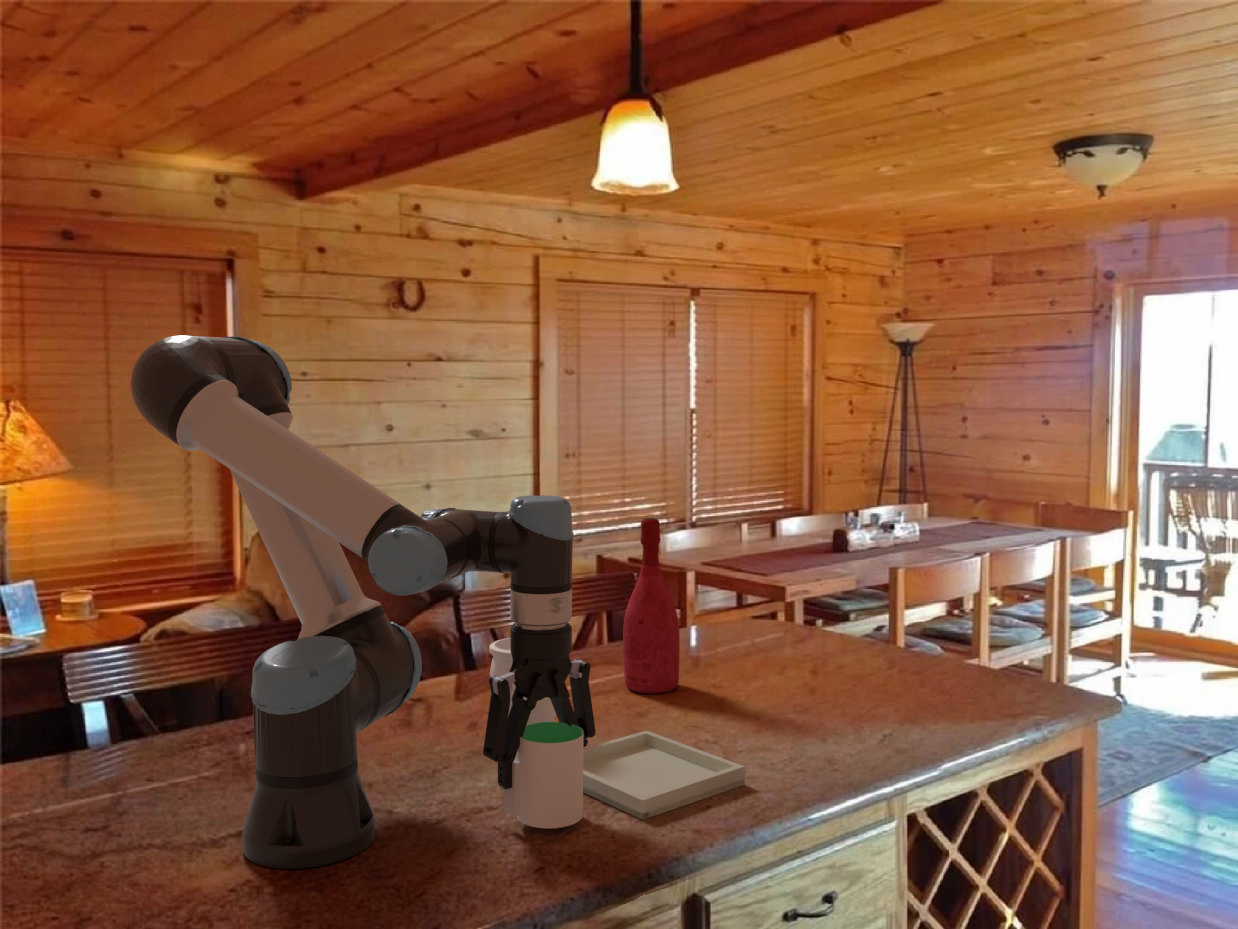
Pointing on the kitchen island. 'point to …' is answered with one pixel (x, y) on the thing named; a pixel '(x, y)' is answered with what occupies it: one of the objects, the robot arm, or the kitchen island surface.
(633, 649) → the wine bottle
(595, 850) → the kitchen island surface
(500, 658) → the jar
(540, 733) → the mug
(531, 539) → the robot arm
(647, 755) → the tray
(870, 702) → the kitchen island surface
